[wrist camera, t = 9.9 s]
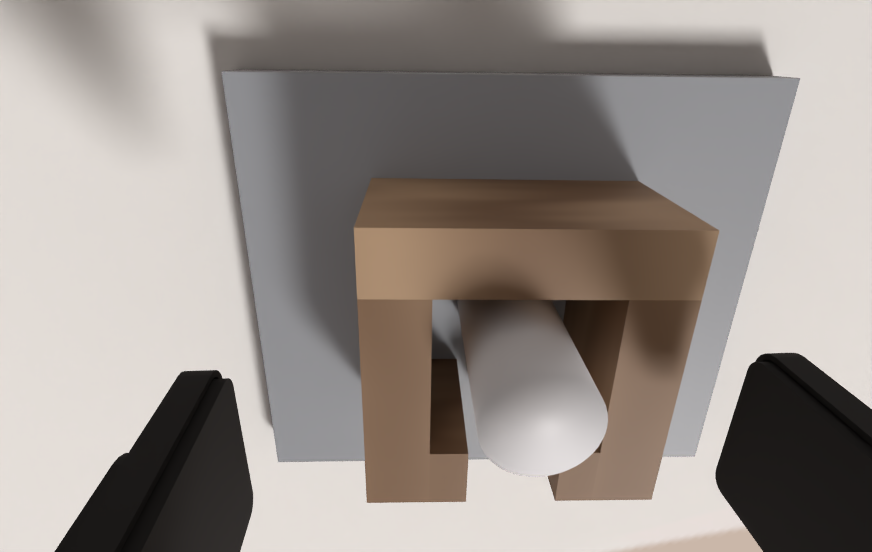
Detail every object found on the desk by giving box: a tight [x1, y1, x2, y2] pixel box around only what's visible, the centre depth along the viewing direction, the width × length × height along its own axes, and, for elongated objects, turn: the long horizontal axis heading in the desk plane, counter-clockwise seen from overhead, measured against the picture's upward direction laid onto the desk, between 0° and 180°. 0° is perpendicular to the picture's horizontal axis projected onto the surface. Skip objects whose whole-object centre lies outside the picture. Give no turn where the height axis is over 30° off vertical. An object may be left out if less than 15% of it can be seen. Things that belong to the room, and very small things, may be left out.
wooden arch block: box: [354, 178, 719, 503], centre depth 13 cm, size 7×7×4 cm
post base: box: [222, 70, 800, 477], centre depth 13 cm, size 14×12×6 cm
